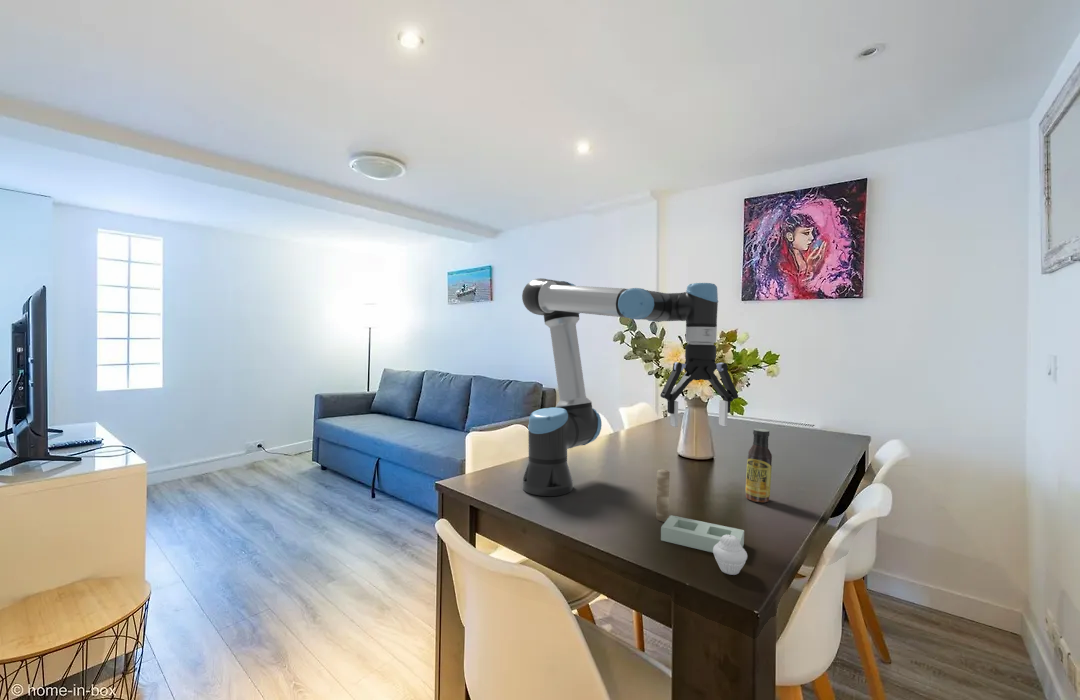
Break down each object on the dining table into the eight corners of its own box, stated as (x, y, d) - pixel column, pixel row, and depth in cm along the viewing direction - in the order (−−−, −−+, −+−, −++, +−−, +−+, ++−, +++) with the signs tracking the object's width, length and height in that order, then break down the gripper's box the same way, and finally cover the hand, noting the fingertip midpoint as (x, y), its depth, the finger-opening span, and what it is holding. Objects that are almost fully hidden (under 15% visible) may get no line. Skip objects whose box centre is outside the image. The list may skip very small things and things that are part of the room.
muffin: (740, 582, 82) (741, 545, 82) (707, 571, 86) (708, 535, 86) (751, 570, 87) (752, 534, 87) (719, 559, 91) (719, 525, 91)
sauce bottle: (742, 499, 125) (743, 429, 125) (749, 494, 130) (750, 426, 130) (767, 505, 121) (768, 432, 120) (774, 499, 125) (775, 429, 125)
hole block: (660, 540, 99) (661, 526, 99) (670, 527, 106) (670, 515, 106) (738, 558, 91) (739, 544, 91) (743, 543, 98) (744, 530, 98)
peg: (654, 519, 111) (655, 471, 110) (658, 515, 113) (659, 468, 113) (667, 522, 109) (667, 473, 109) (670, 518, 112) (670, 470, 111)
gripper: (661, 343, 109) (658, 429, 110) (754, 344, 113) (751, 428, 114) (648, 342, 117) (647, 423, 117) (736, 344, 121) (734, 422, 121)
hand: (698, 426), depth 116 cm, fingers open, 13 cm apart
